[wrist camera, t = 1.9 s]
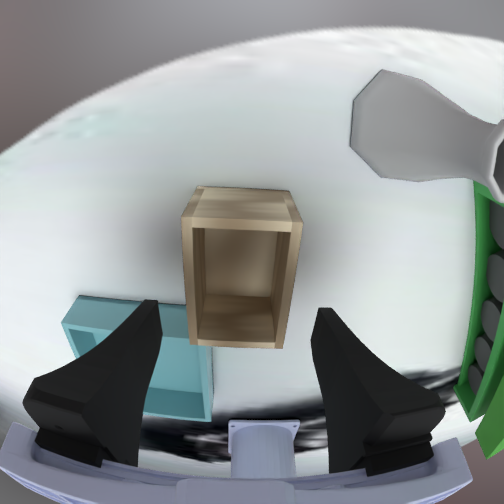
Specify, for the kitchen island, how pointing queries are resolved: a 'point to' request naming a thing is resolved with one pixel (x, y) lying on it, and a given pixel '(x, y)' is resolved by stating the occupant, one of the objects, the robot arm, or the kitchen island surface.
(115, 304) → the teal crate
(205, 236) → the birch crate
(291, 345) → the kitchen island surface
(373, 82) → the flask
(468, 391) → the tank
